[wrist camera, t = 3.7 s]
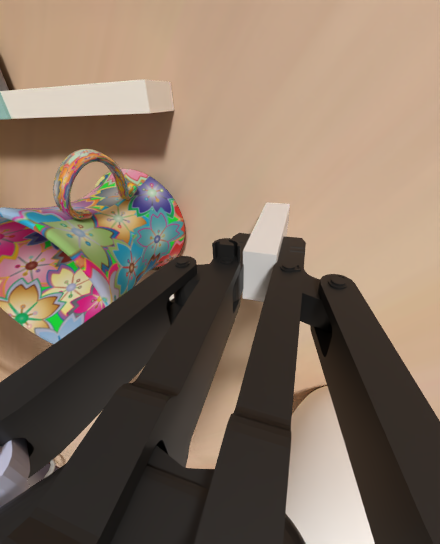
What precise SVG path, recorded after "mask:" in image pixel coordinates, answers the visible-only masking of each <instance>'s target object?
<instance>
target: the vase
mask: <svg viewBox="0 0 440 544" xmlns="http://www.w3.org/2000/svg"><path fill="white" fill-rule="evenodd" d="M285 513H286V514H287V516H288V517H289V518H290V519H291V520H292V522H293V523H294V525H295V526H296V528H297V529H298V531H299V532H300V534H301V536H302V537H303V539H304V541H305V543H306V544H375V543H374V539H373V536H372V533H371V529H370V526H369V523H368V519H367V516H366V513H365V509H364V506H363V503H362V499H361V496H360V493H359V489H358V486H357V483H356V479H355V476H354V473H353V469H352V466H351V463H350V459H349V456H348V453H347V449H346V446H345V443H344V439H343V436H342V433H341V429H340V426H339V423H338V419H337V416H336V413H335V409H334V406H333V403H332V399H331V396H330V393H329V389H328V386H324V387H321V388H319V389H316V390H315V391H313V392H311V393H310V394H309V395H308V396H307V397H306V398H305V399H304V400H303V401H302V402H301V403H300V404H299V406H298V407H297V408H296V410H295V411H294V413H293V414H292V417H291V451H290V463H289V475H288V488H287V500H286V512H285Z"/></svg>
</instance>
